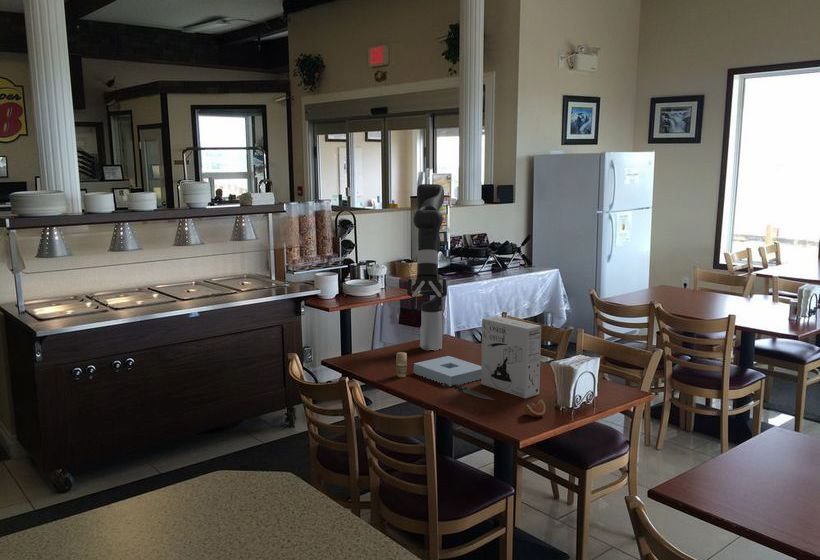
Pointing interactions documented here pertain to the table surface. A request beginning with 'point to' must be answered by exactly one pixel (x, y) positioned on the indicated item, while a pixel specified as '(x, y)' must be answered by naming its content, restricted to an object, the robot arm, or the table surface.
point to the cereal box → (511, 356)
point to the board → (448, 370)
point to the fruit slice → (535, 408)
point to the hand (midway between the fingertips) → (426, 307)
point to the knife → (470, 391)
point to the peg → (401, 364)
